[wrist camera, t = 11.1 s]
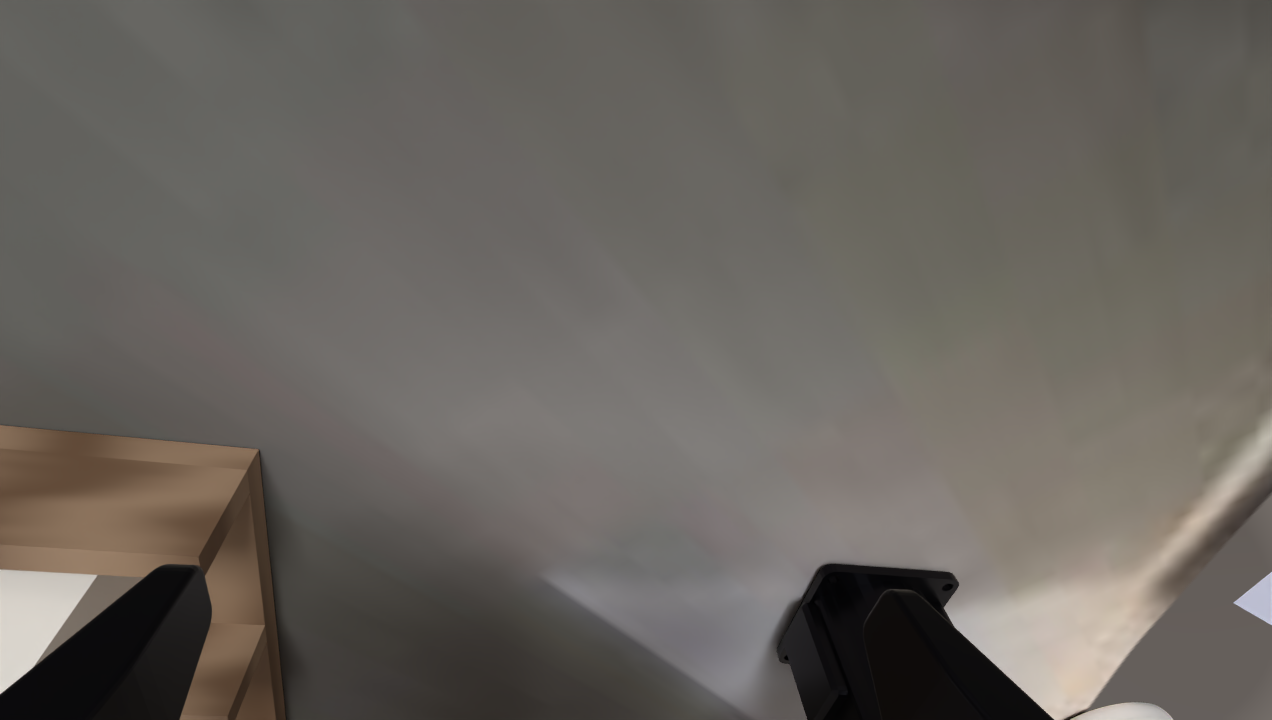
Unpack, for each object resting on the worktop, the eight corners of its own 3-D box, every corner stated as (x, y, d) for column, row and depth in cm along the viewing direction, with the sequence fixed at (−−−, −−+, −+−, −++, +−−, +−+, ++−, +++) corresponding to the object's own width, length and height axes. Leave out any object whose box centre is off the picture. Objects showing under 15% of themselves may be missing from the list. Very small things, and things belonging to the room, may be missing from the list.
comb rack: (258, 449, 22) (198, 556, 18) (294, 808, 35) (264, 914, 31) (-183, 408, 20) (-356, 522, 16) (31, 810, 33) (-36, 925, 29)
